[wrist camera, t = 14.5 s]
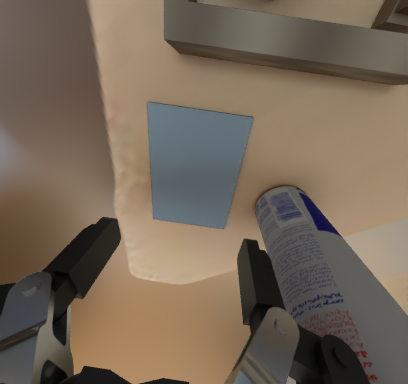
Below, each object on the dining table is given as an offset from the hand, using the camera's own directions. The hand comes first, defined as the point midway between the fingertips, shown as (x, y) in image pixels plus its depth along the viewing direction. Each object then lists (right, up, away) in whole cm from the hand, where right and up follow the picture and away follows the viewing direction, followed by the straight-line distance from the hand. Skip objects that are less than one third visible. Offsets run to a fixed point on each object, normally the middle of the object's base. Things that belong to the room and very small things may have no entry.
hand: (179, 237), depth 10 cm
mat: (0, +4, +7) cm, 8 cm away
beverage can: (+10, +1, +8) cm, 13 cm away
